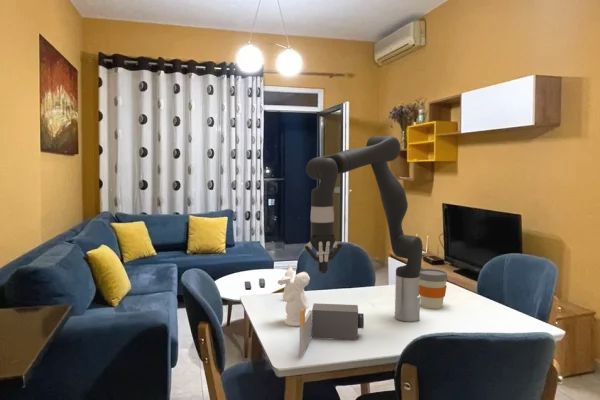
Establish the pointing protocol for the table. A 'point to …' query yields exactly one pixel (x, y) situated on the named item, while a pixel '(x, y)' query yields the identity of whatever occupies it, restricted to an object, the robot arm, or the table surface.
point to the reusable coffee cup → (432, 288)
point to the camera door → (305, 330)
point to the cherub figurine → (294, 295)
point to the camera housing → (336, 321)
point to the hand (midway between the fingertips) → (322, 272)
